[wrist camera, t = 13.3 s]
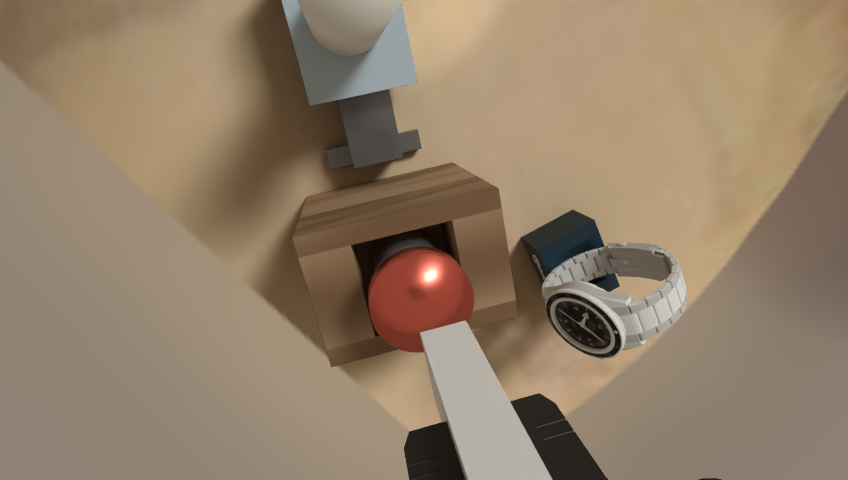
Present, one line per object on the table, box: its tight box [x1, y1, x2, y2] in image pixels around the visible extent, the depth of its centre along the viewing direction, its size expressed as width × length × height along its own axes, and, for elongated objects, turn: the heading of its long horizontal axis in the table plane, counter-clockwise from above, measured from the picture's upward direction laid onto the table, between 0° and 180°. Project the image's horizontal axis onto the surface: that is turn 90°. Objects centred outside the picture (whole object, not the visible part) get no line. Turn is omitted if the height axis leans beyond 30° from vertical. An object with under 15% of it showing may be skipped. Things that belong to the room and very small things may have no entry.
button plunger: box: [368, 230, 474, 352], centre depth 24 cm, size 5×5×6 cm
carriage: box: [282, 0, 417, 106], centre depth 22 cm, size 8×6×13 cm
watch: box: [521, 210, 688, 359], centre depth 31 cm, size 6×8×11 cm
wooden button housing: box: [292, 163, 519, 367], centre depth 28 cm, size 7×10×10 cm
